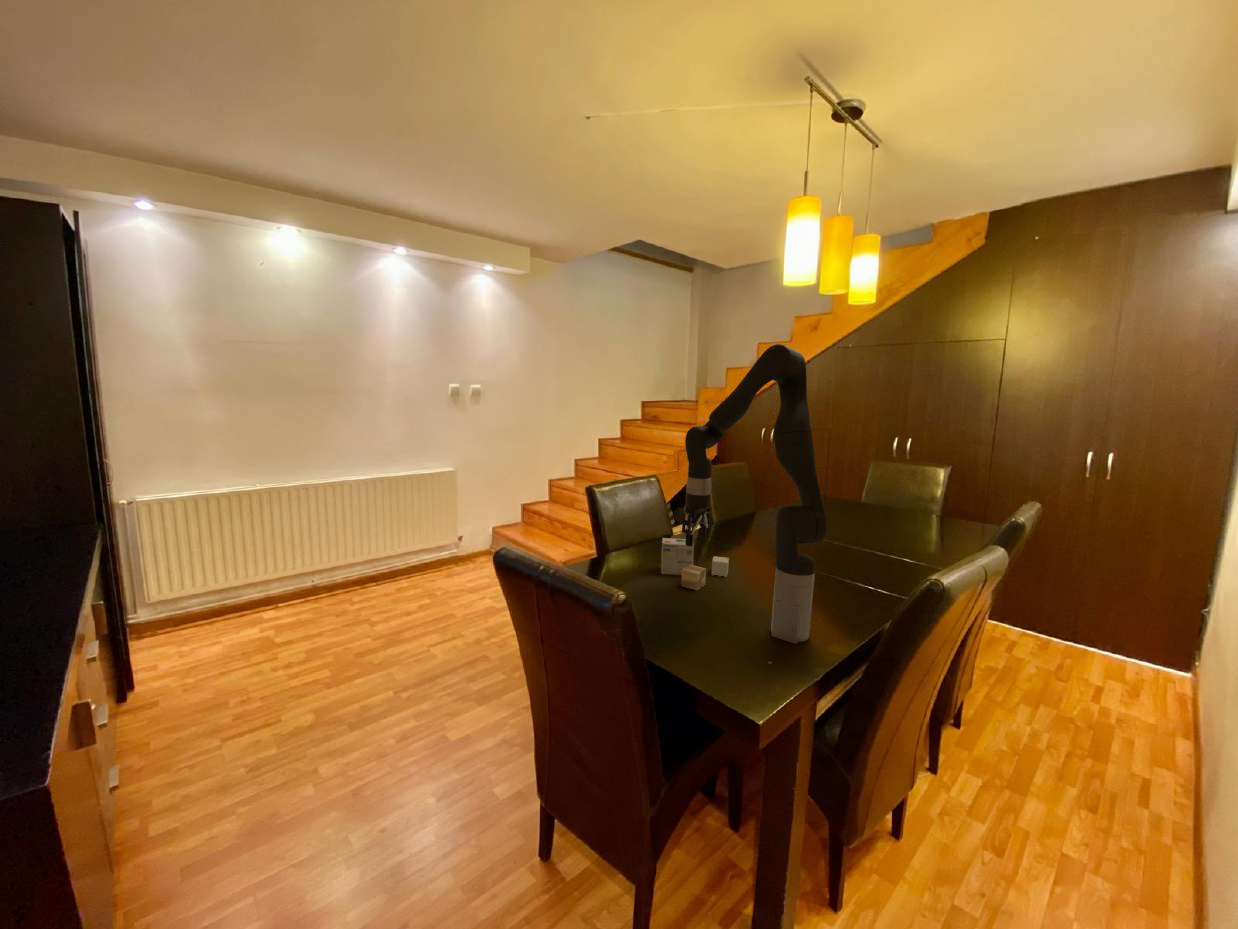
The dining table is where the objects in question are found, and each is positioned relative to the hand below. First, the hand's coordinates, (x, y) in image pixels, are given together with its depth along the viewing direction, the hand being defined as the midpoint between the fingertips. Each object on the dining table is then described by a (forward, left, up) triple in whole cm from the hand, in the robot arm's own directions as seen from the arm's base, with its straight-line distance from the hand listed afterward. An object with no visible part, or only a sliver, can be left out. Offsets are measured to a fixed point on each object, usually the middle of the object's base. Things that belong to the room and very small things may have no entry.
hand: (695, 542), depth 154 cm
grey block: (+15, -2, -14) cm, 20 cm away
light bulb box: (+7, +10, -14) cm, 19 cm away
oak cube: (0, 0, -14) cm, 14 cm away
